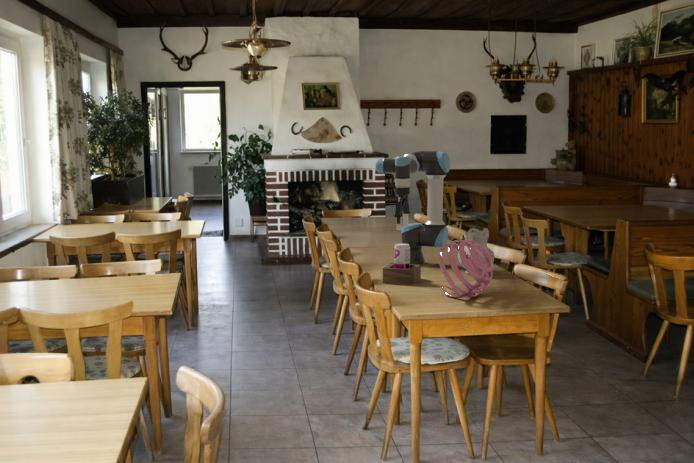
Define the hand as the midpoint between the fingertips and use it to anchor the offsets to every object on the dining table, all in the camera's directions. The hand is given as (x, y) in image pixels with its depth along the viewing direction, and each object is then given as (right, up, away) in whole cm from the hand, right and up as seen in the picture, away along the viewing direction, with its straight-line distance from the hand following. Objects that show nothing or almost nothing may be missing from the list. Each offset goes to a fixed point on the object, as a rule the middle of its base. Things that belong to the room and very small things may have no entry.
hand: (402, 228), depth 390 cm
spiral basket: (+27, -32, -32) cm, 53 cm away
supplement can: (0, -23, +3) cm, 24 cm away
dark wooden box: (0, -27, +4) cm, 27 cm away
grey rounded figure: (+41, -24, +22) cm, 53 cm away
